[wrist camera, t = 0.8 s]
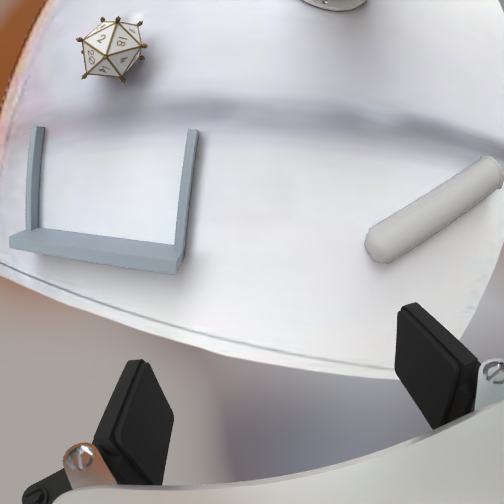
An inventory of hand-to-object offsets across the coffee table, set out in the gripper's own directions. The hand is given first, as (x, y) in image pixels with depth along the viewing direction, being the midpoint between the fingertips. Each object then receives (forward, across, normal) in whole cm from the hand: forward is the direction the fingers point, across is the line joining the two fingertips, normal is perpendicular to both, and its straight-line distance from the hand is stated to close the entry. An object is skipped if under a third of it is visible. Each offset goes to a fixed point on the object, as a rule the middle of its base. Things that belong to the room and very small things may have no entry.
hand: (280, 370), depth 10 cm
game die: (+28, +11, -24) cm, 39 cm away
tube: (+28, -26, +2) cm, 38 cm away
